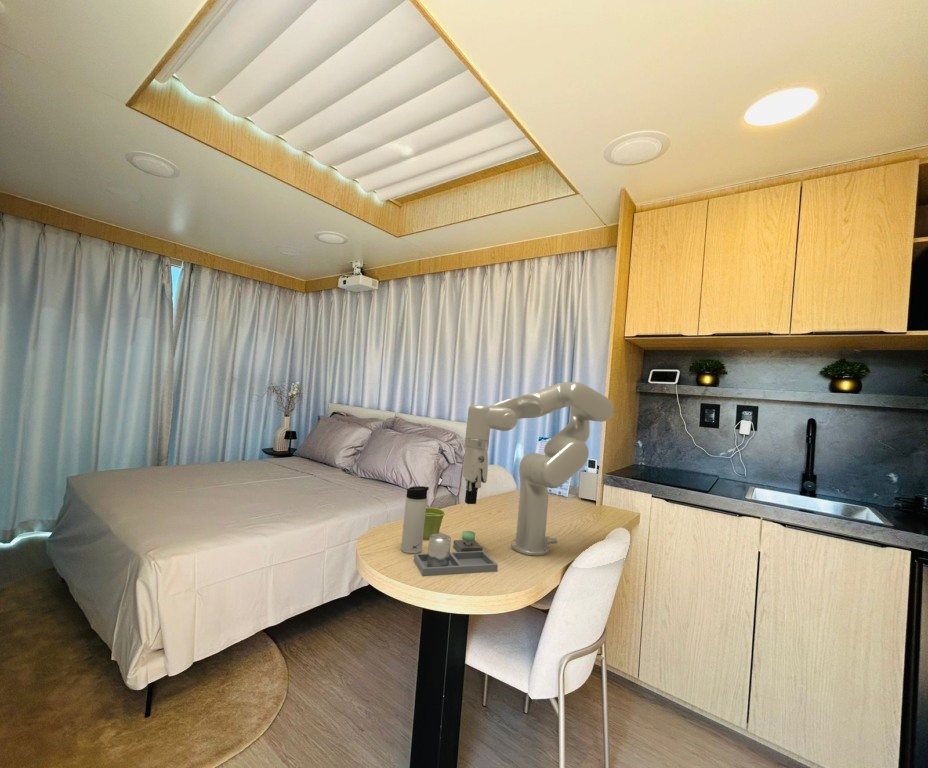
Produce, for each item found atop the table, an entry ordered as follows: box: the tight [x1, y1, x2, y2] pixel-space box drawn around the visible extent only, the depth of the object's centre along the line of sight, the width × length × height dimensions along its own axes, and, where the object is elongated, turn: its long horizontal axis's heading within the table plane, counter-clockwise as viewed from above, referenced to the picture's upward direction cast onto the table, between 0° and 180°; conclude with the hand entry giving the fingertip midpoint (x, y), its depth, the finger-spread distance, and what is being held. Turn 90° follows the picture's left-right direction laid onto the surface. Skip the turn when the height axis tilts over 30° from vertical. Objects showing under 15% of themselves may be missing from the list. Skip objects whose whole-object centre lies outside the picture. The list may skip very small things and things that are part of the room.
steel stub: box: [427, 533, 452, 567], centre depth 110 cm, size 6×6×8 cm
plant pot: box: [423, 507, 446, 541], centre depth 136 cm, size 9×9×9 cm
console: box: [452, 539, 484, 552], centre depth 124 cm, size 7×7×3 cm
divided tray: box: [413, 550, 499, 577], centre depth 112 cm, size 21×10×3 cm, turn 110°
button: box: [461, 530, 476, 545], centre depth 124 cm, size 4×4×5 cm
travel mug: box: [400, 485, 430, 555], centre depth 121 cm, size 6×7×20 cm
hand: (470, 503), depth 125 cm, fingers closed
